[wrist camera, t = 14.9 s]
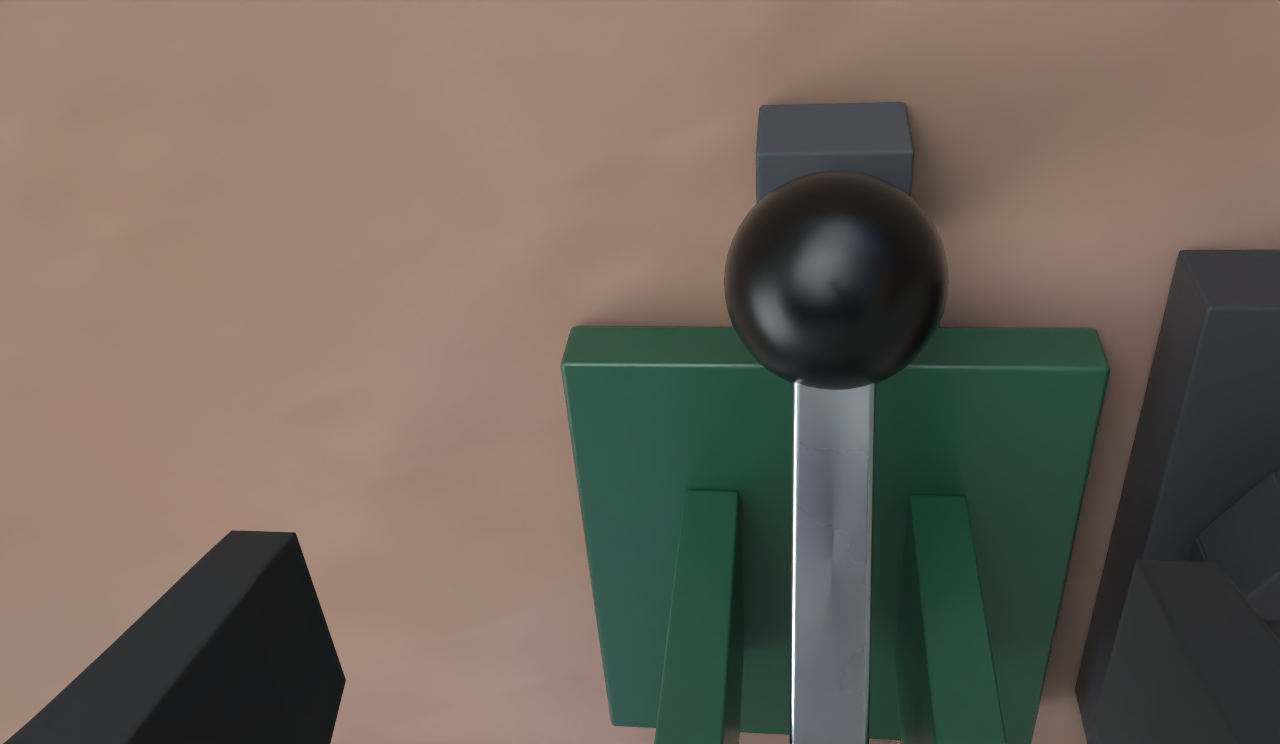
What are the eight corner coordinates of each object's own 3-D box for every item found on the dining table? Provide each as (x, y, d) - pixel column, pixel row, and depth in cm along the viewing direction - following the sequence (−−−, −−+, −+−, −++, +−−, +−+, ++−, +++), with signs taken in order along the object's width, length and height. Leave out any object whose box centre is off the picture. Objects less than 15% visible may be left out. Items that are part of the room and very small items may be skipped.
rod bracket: (569, 324, 21) (440, 784, 13) (1097, 325, 19) (1278, 833, 12) (617, 683, 26) (546, 1139, 19) (1023, 701, 25) (1113, 1196, 18)
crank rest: (896, 239, 19) (903, 296, 17) (761, 240, 19) (757, 296, 18) (905, 100, 17) (914, 151, 16) (759, 103, 18) (755, 153, 16)
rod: (730, 174, 17) (716, 168, 14) (937, 171, 17) (967, 164, 14) (729, 912, 19) (717, 1044, 16) (917, 926, 18) (940, 1063, 16)
